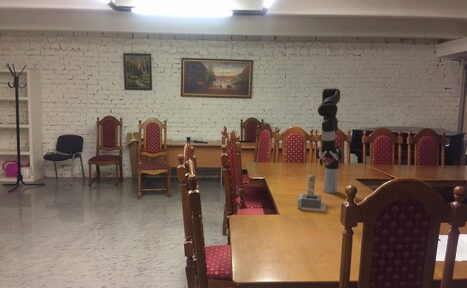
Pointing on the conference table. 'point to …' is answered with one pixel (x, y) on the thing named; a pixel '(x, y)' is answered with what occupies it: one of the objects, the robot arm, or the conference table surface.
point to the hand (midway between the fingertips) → (329, 165)
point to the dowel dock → (311, 202)
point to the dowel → (311, 184)
